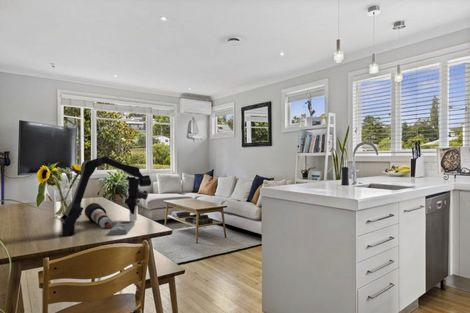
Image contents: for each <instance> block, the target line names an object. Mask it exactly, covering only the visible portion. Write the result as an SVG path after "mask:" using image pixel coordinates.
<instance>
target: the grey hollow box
mask: <svg viewBox="0 0 470 313" xmlns="http://www.w3.org/2000/svg"><path fill="white" fill-rule="evenodd" d="M134 226H135V221H130V220H120V221H119V222H117V223H116V224H115V225H114V226H113V227H111V228H110V230H109V235H110V236H123V235H126V236H127V235H128V234H129V232H130V231H131V230H132V229H133V228H134Z"/></svg>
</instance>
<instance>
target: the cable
mask: <svg viewBox="0 0 470 313" xmlns="http://www.w3.org/2000/svg"><path fill="white" fill-rule="evenodd" d="M84 215H85V217H86V218H87V219H88V220H89V221H90V222H91V223H94V224H97V225H98V226H99V227H101V228H108V229H110V230H111V229H112V226H113V220H112V219H111V218H110V217H109V216H108V214H107V211H106V209H105V208H104V207H103V206H102V205H101V204H99V203H97V202H92V203H89V204H88V205H87V206H86V207H85V209H84Z"/></svg>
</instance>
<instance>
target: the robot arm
mask: <svg viewBox="0 0 470 313" xmlns="http://www.w3.org/2000/svg"><path fill="white" fill-rule="evenodd" d="M103 165H107V166H109V167H112V168H115V169H117V170H120V171H122V172H123V173H125V174H126V175H127V176H126V177H125V178H124V181H127V184H128V187H127V188H128V189H127V193H128V196H127V197H126V199H125V200H124V205H126V206H128V209H130V210H129V212H130V211H131V213H132V214H134V210H135V206H138V203H139V202H141V200H147V199H148V196H149V193H148V191H147V190H143V191H141V190H140V188H139V187H141V188H143V187H144V188H145V187H150V186H152V180H151V176H150V175H149V174H147V175H143V174H142V173H141V171H140V168H139V167H138V166H135V165H128V164H125V163H122V162H120V161H117V160H115V159H112V158H110V157H108V156H106V155H103V156H100V157H99V156H98V157H97V158H95V159H94V158H93V159H91V160H84V161H83V162H82V163H81V166H80V178H79V180H78V182H77V186H76V189H75V192H74V195H73V198H72V201H70V203H69V205H68V206H67V208H66V209H65V212H64V214H63V215H62V216H61V217H60V218H59V219H60V222H61V234H59V237H70V236H75V235H76V234H77V233H78V231H75V230H76V228H75V227H76V226H75V224H76V223H77V220H78V219H79V218H80V217H81V216H82V212H83V210H84V207H83V206H82V202H83V201H82V200H83V197H84V195H85V193H86V192H85V191H86V189H87V186H88V184H89V180H90V178H91V176H92V175H93V174H94V172H95V170H96V169H97V168H98V167H99V168H100V167H101V166H103Z"/></svg>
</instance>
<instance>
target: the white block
mask: <svg viewBox="0 0 470 313" xmlns="http://www.w3.org/2000/svg"><path fill="white" fill-rule="evenodd" d="M138 207H139V206H138V205H137V206H135V210H134V214H132V213H131V211H130V209H129V208H128V209H129V221H134V222H136V221H138V220H139V214H138V213H139V209H138Z"/></svg>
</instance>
